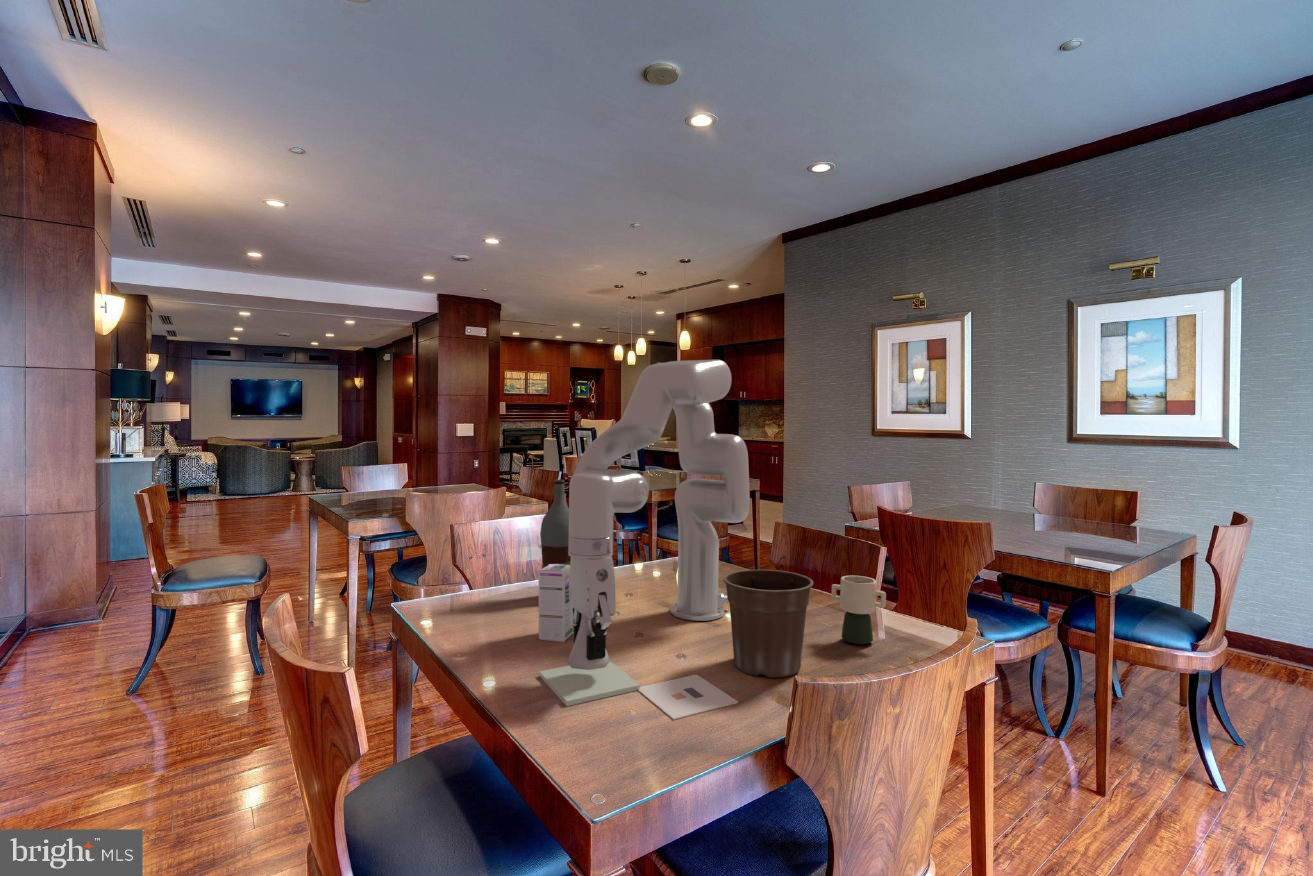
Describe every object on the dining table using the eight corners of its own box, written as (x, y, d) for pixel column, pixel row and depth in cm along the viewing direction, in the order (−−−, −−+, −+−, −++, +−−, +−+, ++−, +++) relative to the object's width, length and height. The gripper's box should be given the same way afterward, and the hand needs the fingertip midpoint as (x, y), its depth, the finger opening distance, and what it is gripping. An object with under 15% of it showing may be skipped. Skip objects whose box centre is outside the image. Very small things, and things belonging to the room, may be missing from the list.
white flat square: (696, 675, 106) (696, 674, 106) (738, 703, 96) (738, 701, 96) (636, 689, 100) (636, 687, 100) (673, 720, 90) (673, 718, 90)
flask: (568, 655, 106) (569, 598, 106) (609, 655, 107) (610, 598, 106) (565, 672, 99) (566, 611, 99) (610, 671, 99) (611, 610, 99)
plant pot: (703, 660, 113) (705, 575, 113) (764, 643, 123) (765, 564, 123) (768, 692, 100) (770, 595, 100) (829, 670, 110) (831, 582, 110)
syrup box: (564, 642, 122) (565, 570, 121) (537, 640, 123) (538, 568, 123) (574, 633, 127) (575, 564, 127) (547, 630, 128) (548, 562, 128)
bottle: (577, 603, 149) (579, 481, 148) (539, 604, 147) (541, 481, 147) (574, 592, 158) (576, 478, 158) (538, 594, 156) (540, 478, 156)
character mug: (888, 642, 125) (889, 579, 125) (881, 652, 119) (882, 587, 119) (835, 632, 131) (836, 572, 130) (825, 641, 125) (827, 578, 124)
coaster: (607, 662, 112) (607, 658, 112) (640, 689, 100) (640, 684, 100) (539, 675, 105) (539, 671, 105) (566, 706, 94) (566, 701, 94)
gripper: (633, 553, 97) (631, 666, 97) (591, 536, 112) (589, 634, 112) (590, 557, 93) (588, 675, 93) (552, 539, 108) (550, 640, 108)
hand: (589, 651), depth 103 cm, fingers closed on flask, 4 cm apart
